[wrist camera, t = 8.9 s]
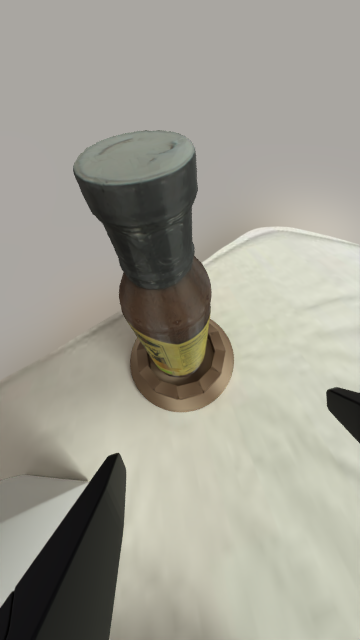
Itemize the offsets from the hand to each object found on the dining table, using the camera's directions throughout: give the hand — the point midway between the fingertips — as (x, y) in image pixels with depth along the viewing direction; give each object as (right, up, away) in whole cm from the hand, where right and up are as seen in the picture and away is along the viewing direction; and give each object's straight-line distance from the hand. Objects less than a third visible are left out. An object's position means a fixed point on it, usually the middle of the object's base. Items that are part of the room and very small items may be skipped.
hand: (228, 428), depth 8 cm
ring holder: (-2, 0, +16) cm, 16 cm away
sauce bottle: (-2, 0, +16) cm, 16 cm away
